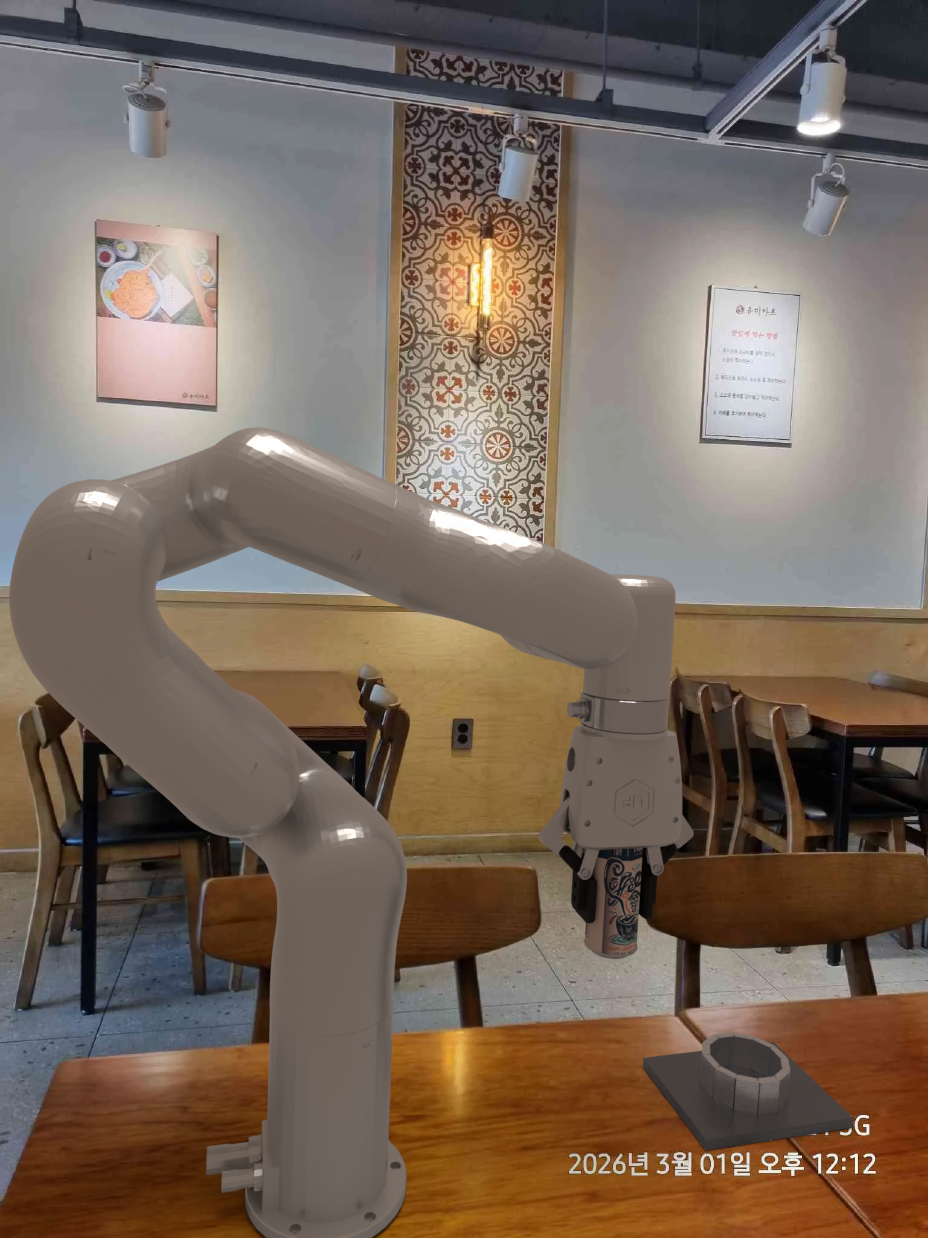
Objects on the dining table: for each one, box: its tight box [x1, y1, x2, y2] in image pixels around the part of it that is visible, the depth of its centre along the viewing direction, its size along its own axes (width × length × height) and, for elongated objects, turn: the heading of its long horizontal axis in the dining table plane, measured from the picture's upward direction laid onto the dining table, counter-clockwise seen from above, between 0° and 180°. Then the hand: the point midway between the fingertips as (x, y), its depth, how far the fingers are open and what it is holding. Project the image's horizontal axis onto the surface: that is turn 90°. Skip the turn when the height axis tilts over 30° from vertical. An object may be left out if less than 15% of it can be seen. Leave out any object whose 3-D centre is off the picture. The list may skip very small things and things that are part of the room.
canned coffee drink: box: [583, 848, 643, 960], centre depth 75 cm, size 5×5×12 cm
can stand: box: [642, 1031, 854, 1152], centre depth 80 cm, size 15×12×4 cm
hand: (612, 912), depth 75 cm, fingers closed on canned coffee drink, 4 cm apart
